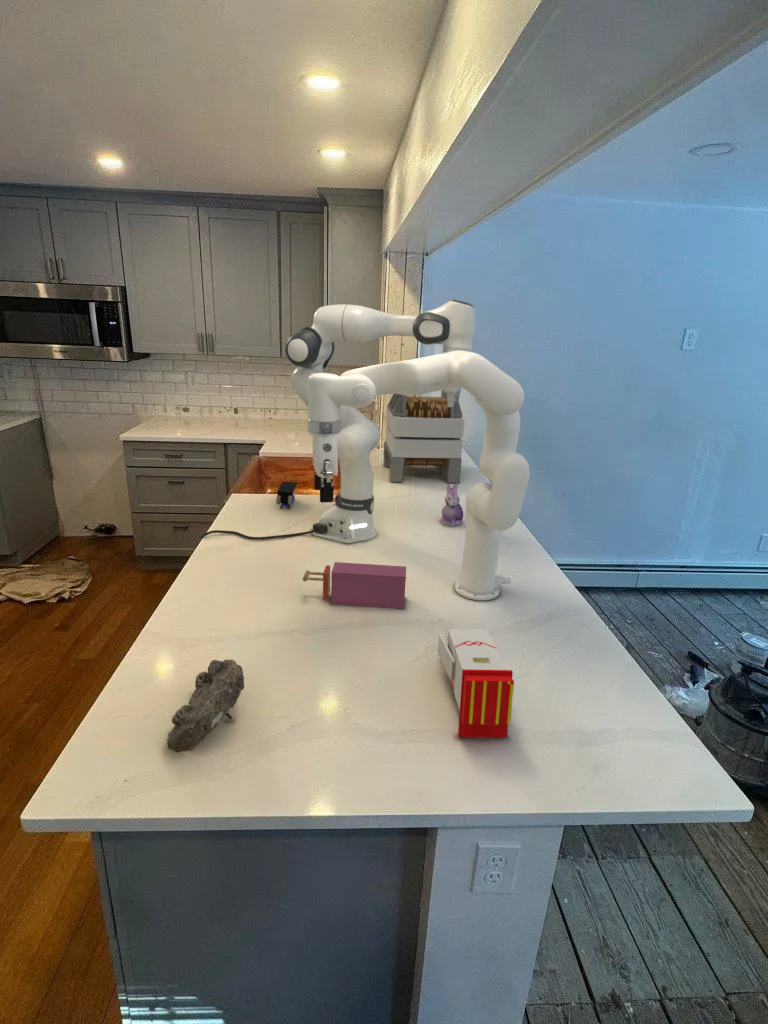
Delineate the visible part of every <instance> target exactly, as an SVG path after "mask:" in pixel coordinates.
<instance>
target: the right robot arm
mask: <svg viewBox="0 0 768 1024" xmlns="http://www.w3.org/2000/svg"><path fill="white" fill-rule="evenodd" d="M454 387H461V389H463V390H465V391H467V392H468V393H469V394H470V395H472V396H473V398H474V399H475V401H476V403H477V404H478V405H479V406H480V407H481V408H482V409H483V411H484V414H485V417H486V430H485V434H484V440H483V443H482V447H481V452H480V456H479V462H478V469H479V472H480V474H481V475H482V476H483V477H485V478H486V479H488V480H489V481H490V482H492V483H490V482H486V481H484V482H483V481H481V482H478V483H476V484H474V485H472V487H471V488H470V489H469V490H468V492H467V494H466V497H465V517H466V518H465V519H466V520H465V521H466V524H465V537H464V547H463V548H464V549H463V557H462V565H461V577H460V579H458V580H457V581H456V582H455V584H454V590H455V591H456V593H457V594H458V595H460V596H461V597H464V598H466V599H469V600H473V601H489V600H494V599H496V598H497V597H498V596H499V595H500V586H502V585H511V583H512V579H511V577H510V576H507V577H504V576H503V574H497V570H498V569H497V568H498V560H499V553H500V545H501V544H500V543H501V538H502V537H501V535H502V532H503V531H507V530H509V529H511V528H512V527H513V526H514V525H515V524H516V523H517V522H518V520H519V517H520V515H521V513H522V509H523V505H524V502H525V497H526V493H527V489H528V486H529V481H530V476H531V471H530V466H529V462H528V460H527V459H526V458H525V457H524V456H523V455H522V454H520V453H519V452H517V447H518V442H519V438H520V432H521V414H520V409H521V408H522V407H523V405H524V401H525V392H524V389H523V387H522V386H521V384H520V383H519V382H518V381H517V380H515V379H514V377H512V376H510V375H508V373H506V372H505V371H504V370H502V369H501V368H500V367H497V366H496V365H495V364H494V363H492V362H491V361H489V360H488V359H487V358H486V357H484V356H482V355H481V354H479V353H476V352H473V353H472V352H468V351H452V352H447V353H443V352H442V353H438V354H432V355H428V356H423V357H418V358H412V359H406V360H399V361H393V362H387V363H380V364H374V365H373V364H372V365H368V366H363V367H357V368H353V369H348V370H346V371H344V372H343V373H341V374H340V375H338V374H335V373H330V372H323V373H314V374H312V375H310V377H309V379H308V407H307V410H308V411H307V421H308V422H307V432H308V435H311V436H312V465H313V470H314V474H313V476H314V478H313V484H314V485H313V488H314V490H315V491H319V502H320V503H321V504H322V503H325V504H326V503H334V498H335V496H334V492H335V490H334V489H335V488H334V477H338V475H339V461H338V452H337V437H336V436H337V435H339V434H340V405H342V406H349V407H354V408H356V409H358V408H359V409H361V408H365V407H368V406H369V405H371V404H372V403H373V401H375V398H376V396H380V395H382V396H383V395H393V394H400V395H407V396H422V395H425V394H429V393H434V392H438V391H442V390H444V389H449V388H454Z"/></svg>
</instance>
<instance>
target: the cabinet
mask: <svg viewBox="0 0 768 1024" xmlns="http://www.w3.org/2000/svg"><path fill="white" fill-rule="evenodd" d="M406 581H407V566H406V565H405V566H403V565H390V564H389V565H388V564H373V563H372V564H371V563H356V562H340V561H334V564H333V566H332V570H331V572H330V596H331V597H330V604H331V605H340V606H356V607H357V606H358V607H373V608H385V609H387V608H388V609H402V610H403V609H405V597H406V584H407V583H406Z"/></svg>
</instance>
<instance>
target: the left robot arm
mask: <svg viewBox="0 0 768 1024" xmlns="http://www.w3.org/2000/svg"><path fill="white" fill-rule="evenodd" d="M475 309H476V308H475V307H474V306H473V304H471V303H470V302H467V301H463V300H458V299H450V300H449V301H448V302H446V303H444V304H442V305H440V306H439V307H436V308H433V309H431V310H430V309H429V310H427V311H423V312H421V313H419V314H418V315H408V314H407V315H405V314H392V313H388V312H384V311H381V310H378V309H374V308H371V307H368V306H364V305H358V304H348V303H347V304H345V303H343V304H342V303H341V304H340V303H339V304H338V303H337V304H328V305H324V306H320V307H318V308H317V309H316V311H315V312H314V315H313V318H312V319H313V321H312V326H305V327H303V328H301V329H299V330H298V331H295V333H293V334H292V335H290V336H289V337H288V339H287V340H286V341H285V346H284V353H285V355H286V358H287V359H288V361H289V362H290V363H291V364H293V365H294V366H296V367H295V369H294V370H293V371H292V373H291V375H290V383H291V385H292V387H293V389H294V390H295V392H296V393H297V395H298V396H299V398H300V399H301V401H302V402H303V403H304V404H305V406H306V407H307V408H308V379H309V377H310V375H312V374H314V373H324V371H323V370H324V369H326V368H327V366H328V365H329V362H330V360H331V359H332V357H333V355H334V352H335V348H336V345H335V342H343V343H344V342H345V343H362V342H369V341H373V340H377V339H381V338H385V337H391V336H392V337H394V336H397V337H413V338H415V339H416V340H417V342H419V343H421V344H423V345H426V346H432V345H443V346H442V353H447V352H452V351H468V352H472V353H474V345H473V339H474V336H475V332H476V331H475V330H476V310H475ZM443 391H444V392H445V393H447V399H448V404H447V406H448V407H453V406H454V403H457V402H459V403H460V396H461V392H462V388H461V387H454V388H449V389H444V390H443ZM381 436H382V435H381V429H380V427H379V425H378V424H377V423H376V422H375V421H373V420H371V419H369V418H368V417H366V415H364V414H363V413H362V412H361V411H359V410H358V408H356V407H349V406H342V405H340V434H339V435H336V437H337V452H338V467H339V473H340V488H339V489H340V490H339V491H338V492H337V494H336V495H335V496H334V497H333V502H334V504H333V505H331V506H329V507H328V508H326V509H325V510H323V512H321V514H320V515H319V517H318V521H317V522H316V523H314V524H312V528H311V530H308V531H302V532H296V533H287V534H277V535H269V536H268V535H267V536H250V535H246V534H243V533H241V532H238V531H233V530H221V529H217V530H209V531H207V532H205V533H203V534H202V535H201V536H200V537H199V539H204V538H205V537H206V536H208V535H211V534H230V535H231V534H233V535H237V536H239V537H241V538H245V539H248V540H257V541H259V540H271V539H280V538H291V537H297V536H303V535H304V536H305V535H309V534H311V536H315V537H319V538H323V539H326V540H330V541H336V542H339V543H343V544H352V543H357V542H365V541H368V540H372V539H373V538H375V537H376V535H377V532H376V528H375V523H374V513H373V512H374V509H375V496H374V472H373V470H372V466H371V465H372V464H371V460H370V459H371V457H370V455H371V452H372V451H373V450H374V449H376V448H377V446H378V445H379V442H380V440H381Z"/></svg>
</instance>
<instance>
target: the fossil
mask: <svg viewBox="0 0 768 1024" xmlns="http://www.w3.org/2000/svg"><path fill="white" fill-rule="evenodd" d="M243 670H244V669H243V667H242V665H240V664H237V662H236V661H235V660H234V659H232V658H231V659H227V658H226V659H224V660H223V661H222V660H217V659H212V660H211V661H210V663H209V665H208V666H207V671H201V672H199V673H198V674H197V675H196V676H195V680H194V684H195V685H194V687H195V689H194V690H193V693H192V694H191V697H190V698H189V700H188V704H184V705H182V706H181V707H180V709H177V710H176V711H175V713H174V715H173V716H172V718H171V723H172V724H173V727H172V730H171V731H170V732H168V734H167V738H166V741H167V742H166V745H167V749H168V750H169V751H173V752H174V753H176V754H178V753H182V752H188V751H189V752H192V751H193V750H195V748H196V747H197V746H199V744H200V743H201V742H203V741H204V740H205V739H206V738H207V737H208V736H209V735H210V734H211V733H212V732H214V730H215V729H217V727H218V726H219V724H220V722H221V721H222V720H223V719H224V718H225V716H226V717H227V719H229V720H233V717H232V715H230V714H229V710H230V709H231V708H234V706H235V704H236V703H237V702H238V699H239V697H240V695H241V693H242V691H243V690H245V689H244V688H245V675H244V671H243Z"/></svg>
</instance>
